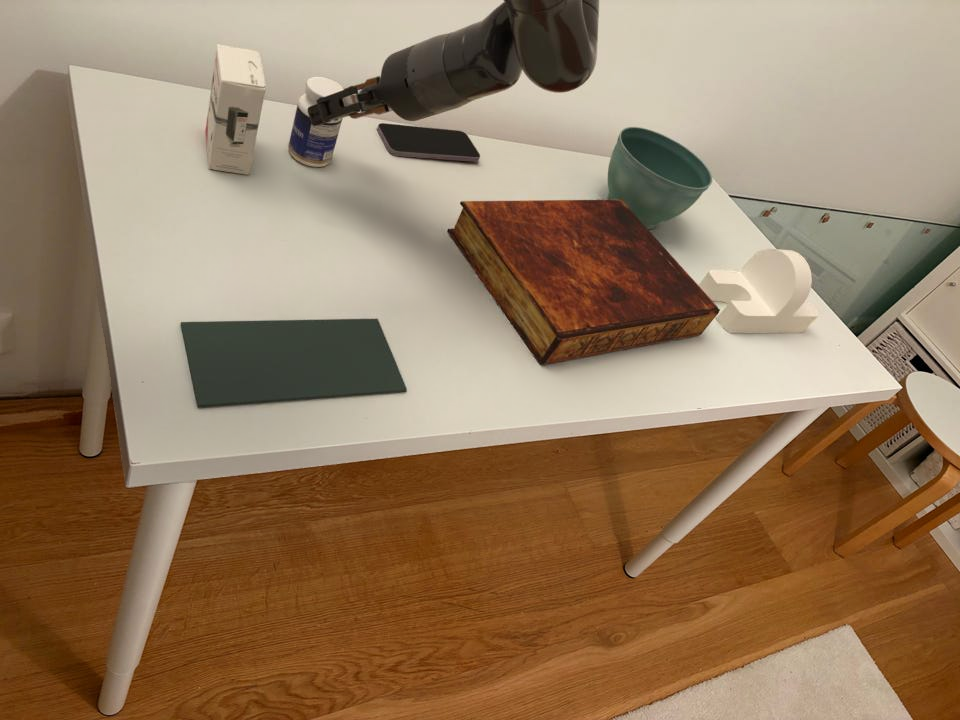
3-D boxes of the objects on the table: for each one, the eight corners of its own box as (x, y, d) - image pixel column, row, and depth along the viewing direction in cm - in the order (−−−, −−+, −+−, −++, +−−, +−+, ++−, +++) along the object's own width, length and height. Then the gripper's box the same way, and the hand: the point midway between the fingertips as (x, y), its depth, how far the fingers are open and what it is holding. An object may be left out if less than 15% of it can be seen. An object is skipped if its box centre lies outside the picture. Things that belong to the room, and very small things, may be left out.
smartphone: (375, 122, 106) (464, 130, 114) (374, 128, 107) (462, 136, 114) (391, 151, 102) (482, 158, 110) (389, 158, 103) (480, 164, 110)
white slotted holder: (692, 287, 110) (735, 231, 103) (770, 289, 119) (815, 239, 112) (727, 333, 104) (774, 278, 97) (806, 332, 113) (854, 282, 106)
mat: (197, 408, 63) (197, 405, 62) (180, 324, 68) (180, 321, 68) (406, 392, 73) (407, 389, 73) (376, 320, 79) (377, 318, 78)
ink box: (203, 129, 90) (215, 39, 83) (244, 136, 93) (259, 49, 85) (207, 170, 85) (220, 78, 77) (250, 176, 87) (267, 88, 80)
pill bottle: (283, 139, 95) (299, 70, 89) (326, 145, 98) (343, 78, 92) (291, 165, 92) (308, 95, 85) (335, 171, 95) (354, 103, 88)
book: (541, 366, 84) (560, 337, 80) (447, 231, 95) (460, 200, 92) (700, 336, 101) (721, 311, 98) (604, 224, 112) (620, 198, 109)
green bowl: (568, 184, 117) (600, 126, 110) (630, 179, 127) (663, 125, 120) (632, 249, 110) (671, 192, 103) (692, 238, 121) (730, 185, 114)
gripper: (463, 36, 83) (367, 74, 93) (379, 46, 73) (282, 87, 83) (480, 103, 85) (385, 132, 95) (400, 122, 75) (303, 153, 85)
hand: (337, 111), depth 89 cm, fingers open, 8 cm apart
